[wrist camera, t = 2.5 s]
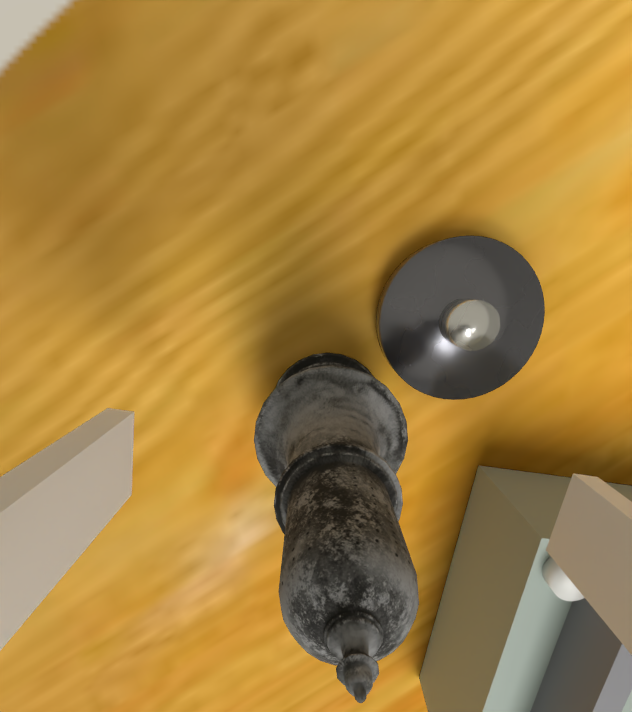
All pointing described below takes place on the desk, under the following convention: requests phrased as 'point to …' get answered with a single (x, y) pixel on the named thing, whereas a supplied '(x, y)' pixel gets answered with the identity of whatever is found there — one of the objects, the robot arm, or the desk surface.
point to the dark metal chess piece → (339, 514)
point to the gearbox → (519, 612)
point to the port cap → (460, 317)
